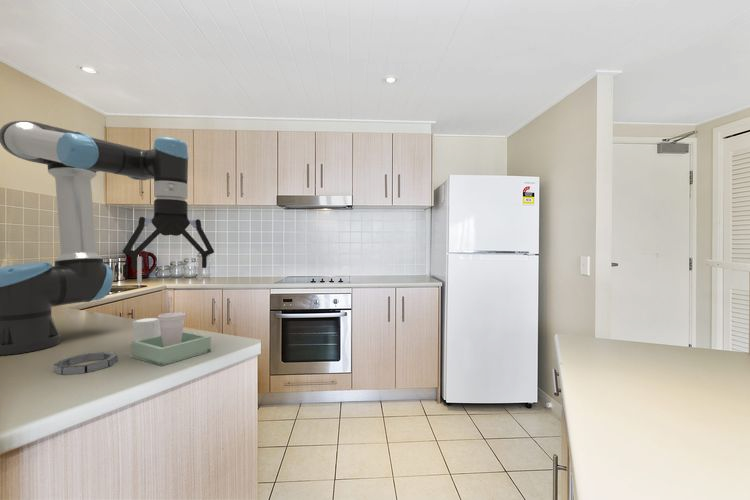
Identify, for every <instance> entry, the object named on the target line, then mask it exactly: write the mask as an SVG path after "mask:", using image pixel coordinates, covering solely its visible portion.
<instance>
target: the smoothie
mask: <svg viewBox="0 0 750 500" xmlns="http://www.w3.org/2000/svg"><path fill="white" fill-rule="evenodd" d="M157 318H158V320H159V323H160V334H161V336H162V343H163V347H167V346H171V345H175V344H179V343H181V341H182V333H183V331H184V325H185V319H186V312H184V311H183V312H182V311H181V312H180V311H174V312H173V296H172V297H169V312H164V313H160V314H158V315H157Z"/></svg>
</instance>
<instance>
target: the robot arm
mask: <svg viewBox="0 0 750 500" xmlns="http://www.w3.org/2000/svg"><path fill="white" fill-rule="evenodd" d="M0 145H1V147H2V149H4V150H5V151H6V152H8V153H9V154H11V155H12V156H14V157H17V158H18V159H21V160H25V161H28V162H31V163H37V164H42V165H46V166H47V173H48V174H49V175H51V176H52V177H53V178H54V179H55V181H54V182H55V183H54V184H55V194H56V196H55V197H56V207H57V222H58V223H57V224H58V234H59V246H60V247H59V249H60V251H59V252H60V255H59V256H58V257H56V259H54V266H52V264H51V262H49V261H38V262H28V263H27V262H25V263H19V264H18V263H17V264H11V265H4V266H0V356H7V355H9V356H10V355H17V354H23V353H30V352H35V351H40V350H43V349H44V350H45V349H48V348H52V347H54V346H57V345H58V344H60V342H61V335H60V331H59V330H58V328H57V324H56V323H55V320H54V319H53V317H52V307H57V306H62V305H70V304H71V305H72V304H79V303H90V302H93V301H98V300H101V299H102V300H103V299H104V298H105V297H106V296H107V295H108V294H109V293H110V292H111V290H112V286H113V283H114V272H113V269H112V267H111V265H109V264H106V263H104V258H103V257H102V256H101V255H100V254H98V253H97V244H96V243H97V242H96V231H95V219H94V217H95V215H94V206H93V205H94V203H93V190H92V180H93V179H94V178H95V177H96V176H97V173H99V172H102V173H108V174H114V175H120V176H124V177H128V178H130V179H133V180H136V181H147V180H148V181H149V180H153V188H154V189H153V197H155V198H156V199H154V201H153V217H152V218H148V217H143V216H140V217H139V219H138V222H137V223H138V224H137V226H136V229H135V230H134V231H133V233H132V235H131V236H130V239H128V241H127V243H126V245H125V246H124V248H123V249H122V253H123V254H124V255H128V256H130V257H131V269H132V270H136V271H137V272H136V277H137V278H136V281H137V282H136V283H137V284H141V283H142V280H143V279H142V278H143V277H142V276H143V275H142V274H143V273H142V270H143V268H142V267H143V265H142V264H143V263H142V261H143V257H142V256H141V255H140V254H141V253H142V252H143V251H144V250H145V249H146V248H147V247H148V246H149V245H151V243H152V242H153V241H154V240H155V239H156V238H157V237H158V236H159V235H162V236H168V237H169V236H170V235H171V236H176V237H178V236H180V235H182V236H183V237H184V238H185V239H186V240H187V241H188V242H189V243H190V244H191V246H192V247H194V249H195V250H196V251H197V252H198V253H199V254H200V255H198V258H197V259H198V261H197V262H198V263H197V264H198V267H197V280H198V282H203V269H206V268H207V266H208V264H207V263H208V261H207V260H208V259H207V258H208V256H209V255H213V254H214V253H215V249H214V248H213V247H212V245H211V243H210V241H209V239H208V237H207V235H206V234H205V231H204V229H203V228H202V221H201V220H200V219H193V220H190V219H189V218H188V207H189V206H188V204H189V203H188V202H187V201H186V200H187V199H188V198H189V196H188V185H189V184H188V181H189V180H188V174H189V172H188V170H189V169H188V168H189V154H188V144H187V143H186V142H185V141H183V140H182V139H179V138H174V137H167V136H160V137H156V138H155V139H154V142H153V149H140V148H137V147H133V146H128V145H123V144H119V143H115V142H111V141H108V140H104V139H99V138H95V137H93V136H91V135H88V134H84V133H82V132H79V131H73V130H69V129H66V128H61V127H57V126H52V125H50V124H44V123H40V122H36V121H31V120H15V121H10V122H7V123H5V124H4V125H2V126H1V128H0ZM149 224H151V225H153V226H154V228H155V230H153V232H152V233H151V234H150V235H148V237H147V238H145V239H144V240H143V242H142V243H141V244H140V245H139V246H137V247H136V248H135V249H134V250H133V247H134V245H135V244H136V242H137V240H138V239H139V238H140V235H141V234H142V232H143V230H144V229H145V227H148V226H149ZM190 225H191V226H192V228H193V229H195V230H196V232H197V233H198V236H199V237H200V239H201V241H202V242H203V244H204V246H205V248H206V250H205V249H203V248H202V246H201V245H200V244H199V243H198V242H197V241H196V240H195V239H194V238H193V237H192V236H191V234H189V232H188V231H187V230H186V229H187V228H188V227H189V226H190ZM139 255H140V256H139Z"/></svg>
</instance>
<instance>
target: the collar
mask: <svg viewBox="0 0 750 500" xmlns="http://www.w3.org/2000/svg"><path fill="white" fill-rule="evenodd" d="M99 360H100V361H99ZM86 361H88V362H89V361H96V362H91V363H87V364H80V363H84V362H86ZM117 362H118V354H117V353H114V352H110V351H109V352H108V351H102V352H99V351H98V352H89V353H84V354H83V353H82V354H78V355H74V356H70V357H66V358H63V359H61V360H59V361H57V362H55V363H53V372H54V373H56V374H59V375H63V376H65V375H76V374H86V373H91V372H95V371H99V370H102V369H106V368H109V367H111V366H112V365H114V364H115V363H117ZM75 364H80V365H75Z"/></svg>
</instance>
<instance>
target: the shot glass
mask: <svg viewBox="0 0 750 500" xmlns="http://www.w3.org/2000/svg"><path fill="white" fill-rule="evenodd" d="M132 328H133V338H134V341H137V340H142V339H146V338H151V337H155V336H160V332H161V329H160V323H159V320H158V317H144V318H137V319H135V320H132Z"/></svg>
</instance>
